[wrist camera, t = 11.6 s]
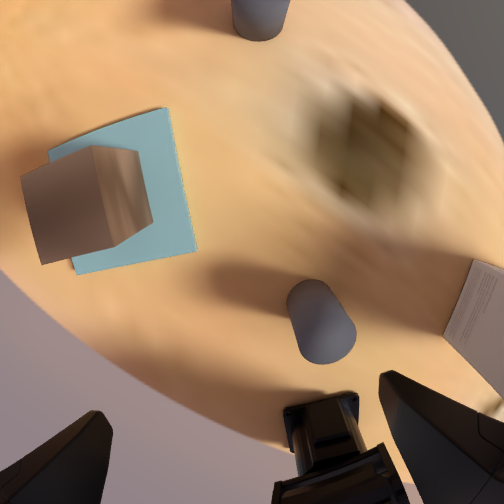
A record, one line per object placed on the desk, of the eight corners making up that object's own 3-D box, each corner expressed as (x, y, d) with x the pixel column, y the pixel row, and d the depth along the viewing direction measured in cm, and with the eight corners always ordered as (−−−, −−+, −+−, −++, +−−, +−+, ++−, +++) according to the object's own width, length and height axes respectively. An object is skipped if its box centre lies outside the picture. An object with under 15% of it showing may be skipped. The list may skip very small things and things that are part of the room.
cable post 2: (334, 317, 20) (356, 356, 16) (290, 326, 20) (301, 369, 16) (330, 275, 20) (355, 307, 15) (283, 284, 20) (295, 321, 15)
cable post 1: (287, 38, 15) (301, 1, 11) (237, 44, 15) (235, 7, 11) (277, 1, 15) (286, -40, 10) (229, 7, 15) (225, -34, 10)
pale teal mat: (197, 248, 19) (196, 251, 18) (80, 272, 19) (76, 275, 19) (168, 109, 16) (166, 107, 16) (52, 151, 17) (47, 150, 16)
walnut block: (153, 222, 18) (114, 247, 12) (93, 237, 18) (41, 265, 12) (138, 151, 17) (91, 145, 11) (78, 171, 17) (20, 176, 11)
